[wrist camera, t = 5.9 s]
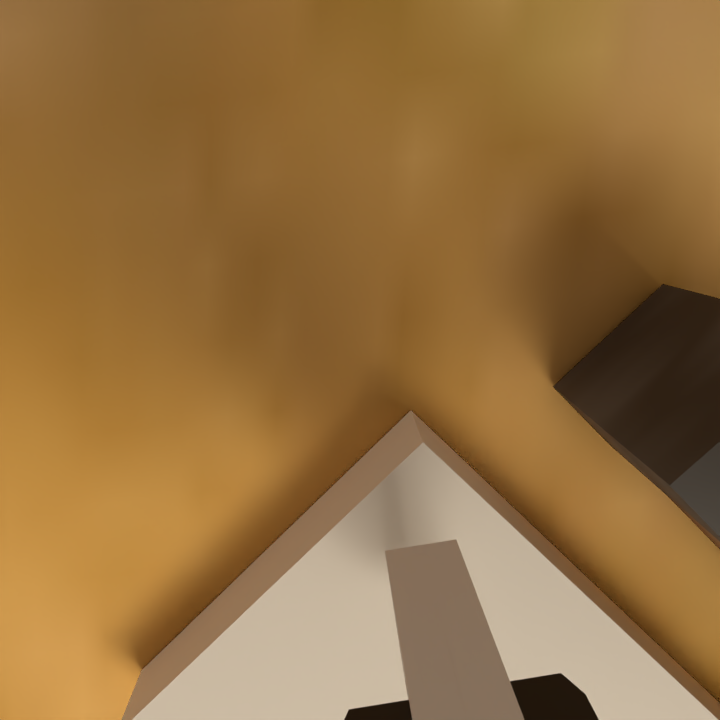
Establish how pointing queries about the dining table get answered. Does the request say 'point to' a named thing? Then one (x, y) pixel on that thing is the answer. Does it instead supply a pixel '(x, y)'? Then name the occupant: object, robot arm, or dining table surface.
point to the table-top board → (376, 613)
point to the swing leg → (661, 398)
